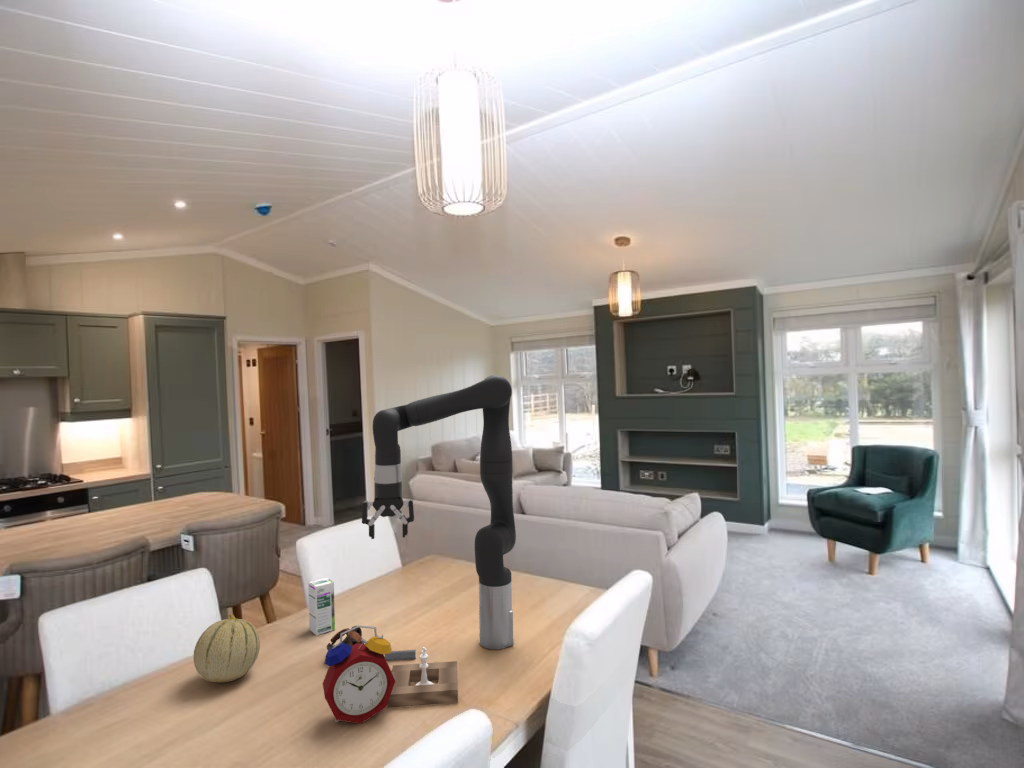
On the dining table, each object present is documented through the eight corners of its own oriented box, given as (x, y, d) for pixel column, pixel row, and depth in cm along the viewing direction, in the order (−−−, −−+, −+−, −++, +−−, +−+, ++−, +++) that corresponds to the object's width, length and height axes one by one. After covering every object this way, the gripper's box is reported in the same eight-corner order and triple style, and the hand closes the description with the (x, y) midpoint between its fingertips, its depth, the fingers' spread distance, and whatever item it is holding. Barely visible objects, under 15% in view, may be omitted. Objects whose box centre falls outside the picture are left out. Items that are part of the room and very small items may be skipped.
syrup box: (316, 636, 159) (315, 586, 159) (308, 629, 163) (308, 581, 163) (335, 630, 163) (334, 581, 163) (327, 623, 167) (326, 576, 167)
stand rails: (415, 657, 146) (415, 649, 146) (412, 679, 135) (412, 671, 135) (385, 659, 145) (385, 651, 145) (379, 681, 134) (379, 673, 134)
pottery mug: (364, 667, 142) (347, 643, 140) (334, 680, 143) (317, 657, 142) (377, 634, 154) (361, 612, 152) (349, 647, 155) (333, 625, 153)
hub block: (457, 672, 138) (457, 660, 138) (458, 702, 125) (457, 689, 125) (392, 677, 136) (392, 665, 136) (386, 708, 123) (386, 694, 123)
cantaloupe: (192, 702, 126) (191, 637, 126) (195, 672, 139) (194, 614, 139) (262, 685, 133) (261, 623, 133) (259, 658, 146) (258, 602, 146)
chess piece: (409, 692, 129) (409, 650, 129) (421, 681, 134) (421, 641, 134) (427, 697, 127) (426, 654, 127) (438, 686, 132) (438, 644, 132)
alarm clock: (325, 733, 114) (324, 638, 114) (322, 710, 122) (321, 621, 122) (396, 715, 120) (394, 624, 120) (388, 695, 128) (387, 610, 128)
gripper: (414, 477, 158) (414, 532, 158) (363, 478, 156) (363, 535, 156) (413, 481, 151) (413, 540, 151) (360, 483, 148) (360, 542, 149)
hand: (388, 537), depth 153 cm, fingers open, 8 cm apart
